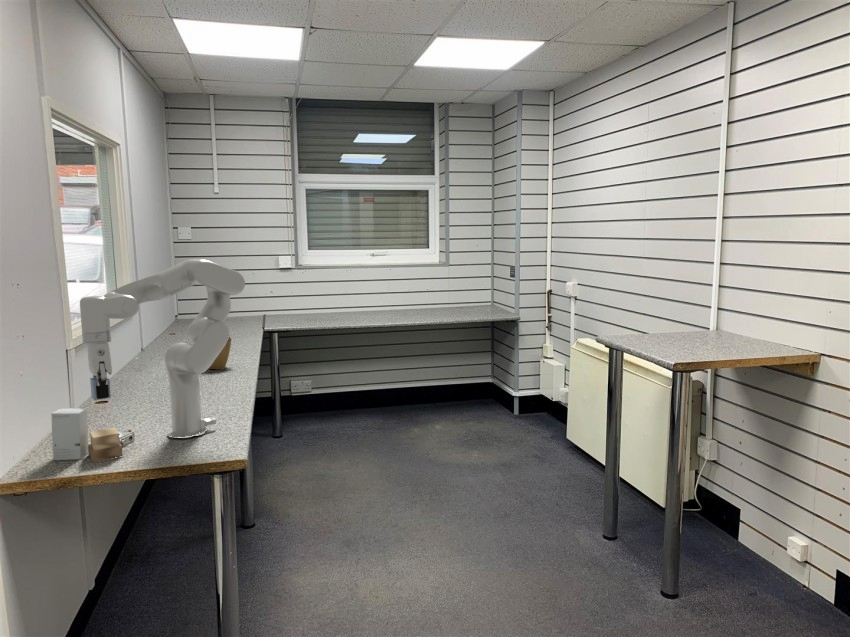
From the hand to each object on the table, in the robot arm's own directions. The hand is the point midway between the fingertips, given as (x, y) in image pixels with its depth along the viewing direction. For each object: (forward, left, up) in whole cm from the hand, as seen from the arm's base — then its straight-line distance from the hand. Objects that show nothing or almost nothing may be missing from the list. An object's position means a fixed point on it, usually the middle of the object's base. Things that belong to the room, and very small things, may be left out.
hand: (101, 395), depth 181 cm
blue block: (0, 0, -1) cm, 1 cm away
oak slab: (0, 0, -16) cm, 16 cm away
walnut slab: (0, 0, -20) cm, 20 cm away
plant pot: (-69, -102, -20) cm, 125 cm away
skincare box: (+8, -6, -20) cm, 22 cm away
